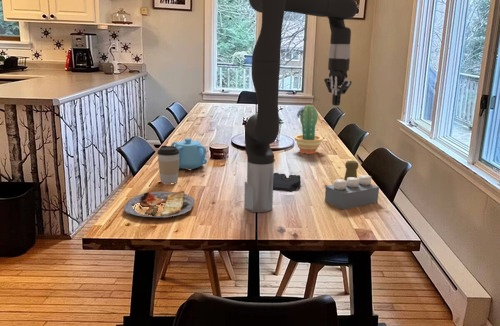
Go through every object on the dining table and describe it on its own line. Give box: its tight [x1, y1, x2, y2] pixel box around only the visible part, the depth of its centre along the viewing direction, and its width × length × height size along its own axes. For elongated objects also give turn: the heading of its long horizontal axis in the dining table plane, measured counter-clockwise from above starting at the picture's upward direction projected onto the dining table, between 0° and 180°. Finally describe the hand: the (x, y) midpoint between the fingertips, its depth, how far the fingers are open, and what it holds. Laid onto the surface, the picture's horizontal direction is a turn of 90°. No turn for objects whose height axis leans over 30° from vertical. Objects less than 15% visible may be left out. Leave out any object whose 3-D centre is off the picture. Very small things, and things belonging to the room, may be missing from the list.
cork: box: [343, 160, 359, 181], centre depth 185 cm, size 6×6×11 cm
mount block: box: [324, 184, 380, 211], centre depth 168 cm, size 17×10×6 cm, turn 120°
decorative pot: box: [170, 137, 208, 170], centre depth 209 cm, size 16×16×14 cm
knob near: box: [333, 178, 347, 191], centre depth 165 cm, size 4×4×8 cm
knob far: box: [358, 174, 372, 186], centre depth 171 cm, size 4×4×8 cm
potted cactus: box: [294, 105, 324, 155], centre depth 241 cm, size 15×15×25 cm
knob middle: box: [347, 177, 359, 188], centre depth 168 cm, size 4×4×8 cm
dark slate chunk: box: [273, 172, 302, 193], centre depth 188 cm, size 15×22×5 cm
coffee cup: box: [157, 145, 180, 185], centre depth 186 cm, size 9×9×15 cm
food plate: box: [123, 190, 196, 218], centre depth 159 cm, size 25×23×4 cm
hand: (335, 105), depth 167 cm, fingers closed
